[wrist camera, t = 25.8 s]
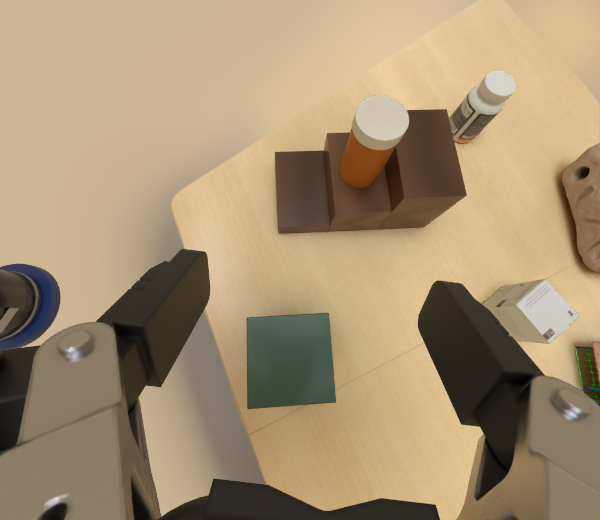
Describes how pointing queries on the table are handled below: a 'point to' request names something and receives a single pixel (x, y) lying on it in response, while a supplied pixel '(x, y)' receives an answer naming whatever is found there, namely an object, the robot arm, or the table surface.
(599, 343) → the house
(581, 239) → the decorative stone
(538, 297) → the product carton
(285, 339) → the stand
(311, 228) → the riser
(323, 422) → the table surface
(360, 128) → the amber bottle
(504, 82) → the pill bottle
